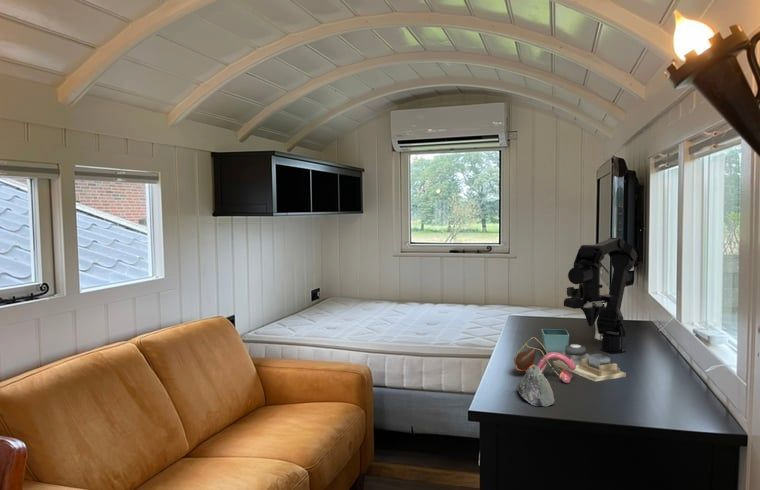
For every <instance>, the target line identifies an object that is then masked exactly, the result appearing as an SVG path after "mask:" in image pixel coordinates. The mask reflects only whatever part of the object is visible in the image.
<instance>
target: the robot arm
mask: <svg viewBox="0 0 760 490" xmlns="http://www.w3.org/2000/svg"><path fill="white" fill-rule="evenodd" d="M605 255H608V256H609V258H610V263H611V266H612V267H613V270H612V276H611V281H610V286H609V291H608V294H601V293H600V292H601V289H602V288H603V284H601V279H600V278H601V268H602V267H603V265H602V264H601V262H602V260H604V259H605ZM637 259H638V253H637V251H636V250H635V248H634V247H633V245H631V244H629V243H627V242H626V241H625V239H624V238H621V237H610V238H607V239H606V240H603V241H600V242H598V243H595V244H582V245H580V246H579V249H578V251H577V254H576V256H575V259H574V261H573V267H572V268H571V269H569V271H568V273H567V278H568V281H570V283H571V284H573V285H578V288H575V287H574V286H570V287H567V288H566V295H567V297H565V299H564V300H563V307H566V308H569V309H570V308H571V309H576V310H577V309H580V310H582V312H583V314H584V316H585V319H586V321H587V323H588V326H589V327H593V326H595V321H596V319H597V317H598V319H597V328H598V333H599V334H603V339H602V341H601V347H600V348H599V350H600V351H601V352H602V351H603V352H606V353H609V354H613V355H614V354H620V353H626V352H627V351H626V349H623V338H625V337H627V335H628V328H627V326H626V325H625V322H624V316H623V313H622V311H621V307H622V302H623V299H624V292H625V289H626V283H627V277H628V273H629V272H630V271H632V269H633V268H634V266H635V263H636V261H637ZM606 302H607V305H606V307H605V306H602V303H606ZM603 308H604V309H603ZM598 315H599V316H598Z"/></svg>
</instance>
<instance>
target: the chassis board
mask: <svg viewBox="0 0 760 490" xmlns="http://www.w3.org/2000/svg"><path fill="white" fill-rule="evenodd" d="M562 354H563V355H565V356H567V357H568V358H569V359H571V358H572V359H573V361H574V363H575V364H576V369H575V370H571V369H570V368H568V366H567V365H566V364H565V363H564V362H562V361H560V360H557V359H556V360H552V361H553V363H554V364H555V365H556V366H557V367H558V368H560V369H566V370H569V371H570V372H571V373H573V374H576V375H578V376H580V377H583V378H586V379H587V380H590V381H592V382H600V381H607V380H613V379H620V378H626V377H627V373H626V372H624V371H621V370H620V369H621V368H620V367H618V363H615V362H614V363H610V364H607V365H600V366H599V370H598V369H595V368H593V367H590V366H589V356H590V354H589V353H586V354H583V355H572V354H568V353H566V352H562ZM553 363H552V365H553V366H554V364H553Z"/></svg>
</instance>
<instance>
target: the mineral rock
mask: <svg viewBox="0 0 760 490" xmlns="http://www.w3.org/2000/svg"><path fill="white" fill-rule="evenodd" d="M534 365H535V366H532V367H531V368H528V370H527V372H526V371H525V374H524V376H522V378H520V380H519V382H518V385H517V387H516V388H517V391H518V392H519V394H520V397H522V399H524V400H525V401H526V402H528V403H529V404H530V405H532V406H534V407H549V406H551V405H554V404H555V398H554V391H553V389H552V387H551V385H550V384H551V383H550V382H549V380H548V379H547V378H546V376H544V373H542V372H541V370H540V369H539V367H538V366H537V365H536V364H534Z"/></svg>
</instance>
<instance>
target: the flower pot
mask: <svg viewBox="0 0 760 490" xmlns="http://www.w3.org/2000/svg"><path fill="white" fill-rule="evenodd" d="M541 339H542V340H541V341H542V345H543V346H544V348H545V349H546V351H547V353H550V352H557V353H561V354H562V352H565V346H567V345H569V344H570V343H569V341H570V334H569V332H568V330H567V329H561V328H560V329H559V328H558V329H556V328H555V329H554V328H541ZM544 348H543V349H544ZM546 351H545V353H546ZM547 353H546V354H547ZM546 354H545V355H546Z"/></svg>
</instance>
